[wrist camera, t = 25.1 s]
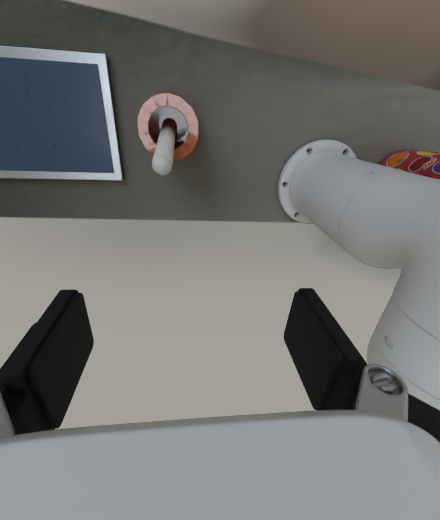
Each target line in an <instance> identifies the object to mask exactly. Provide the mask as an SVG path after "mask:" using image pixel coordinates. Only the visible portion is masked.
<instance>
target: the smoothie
mask: <svg viewBox="0 0 440 520" xmlns="http://www.w3.org/2000/svg"><path fill="white" fill-rule="evenodd" d="M379 165H383V166H387V167H391V168H394V169H398V170H402V171H406V172H410V173H414V174H418V175H422V176H426V177H430V178H434V179H439V180H440V152H427V151H413V150H402V151H398V152H396V153H393V154H391V155H389V156H387V157H386V158H385V159H383V160H382V161H381V162H380V164H379Z"/></svg>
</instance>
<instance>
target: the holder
mask: <svg viewBox="0 0 440 520" xmlns="http://www.w3.org/2000/svg"><path fill="white" fill-rule="evenodd" d="M166 118H171V119H173V120H174V121H175V123H176V136H175V145H174V154H173V161H177V160H181V159H184V158H185V157H186V156H187V155H189V154H190V153H191V152H192V151H193V150H194V148H195V146H196V144H197V141H198V139H199V121H198V119H197V116H196V114H195V112H194V109H193V108H192V106H191V105H189V104H188V103H187V102H186V101H185V100H184V99H183V98H182V97H181V96H178V95H175V94H171V93H168V92H165V93H160V94H155V95H152V96H151V97H150V98H149V99H148V100H147V101H146V102H145V103H143V104H142V106H141V109H140V112H139V114H138V117H137V127H138V135H139V138H140V139H141V141H142V143H143V145H144V147H145V148H146V150H147V151H149V152H150V153H151V154H152V155H154V153H155V149H156V145H157V141H158V138H159V134H160V130H161V126H162V123H163V121H164V120H165V119H166Z"/></svg>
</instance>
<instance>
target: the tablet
mask: <svg viewBox="0 0 440 520" xmlns="http://www.w3.org/2000/svg"><path fill="white" fill-rule="evenodd" d="M0 178H24V179H73V180H121V181H122V180H124V177H123V169H122V162H121V154H120V147H119V139H118V132H117V125H116V117H115V110H114V102H113V95H112V87H111V80H110V72H109V65H108V57H107V55H106V54H99V53H86V52H74V51H61V50H48V49H36V48H23V47H11V46H0Z"/></svg>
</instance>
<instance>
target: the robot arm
mask: <svg viewBox="0 0 440 520" xmlns="http://www.w3.org/2000/svg"><path fill="white" fill-rule="evenodd" d="M307 149H308V152H307ZM343 151H344V152H343ZM284 182H285V184H284V185H282V184H283V183H284ZM278 197H279V201H280V204H281V206H282V208H283V209H284V211H285V212H286V213H287V214H288V215H289V216H290V217H291V218H293V219H294V220H296V221H299V222H301V223H306V224H315V225H316V226H318V227H319V228H320V229H321V230H322V231H324V232H325V233H326V234H327V235H328V236H329V237H331V238H332V239H333V240H334V241H335V242H336V243H338V244H339V245H340V246H341V247H342V248H343V249H345V250H346V251H347V252H348V253H350V254H351V255H352V256H353V257H354V258H356V259H357V260H359V261H360V262H362V263H364V264H366V265H369V266H372V267H376V268H388V269H389V268H390V269H394V268H402V271H401V275H400V278H399V280H398V282H397V284H396V286H395V288H394V291H393V294H392V296H391V298H390V300H389V302H388V304H387V306H386V308H385V310H384V312H383V314H382V316H381V318H380V320H379V322H378V324H377V326H376V328H375V330H374V332H373V334H372V337H371V339H370V342H369V345H368V350H367V361H368V364H367V363H366V362H365V360H364V359H363V358H362V356H361V355H360V353H359V352H358V350H357V349H356V348H355V346H354V345H353V343H352V342H351V341H350V339H349V338H348V337H347V335H346V334H345V332H344V331H343V330H342V328H341V327H340V326H339V324H338V323H337V321H336V320H335V318H334V317H333V316H332V314H331V313H330V311H329V310H328V309H327V307H326V306H325V304H324V303H323V302H322V300H321V299H320V298H319V296H318V295H317V293H316V292H315V291H314V289H312V288H301V289H299V290H298V292H295V294H294V298H293V302H292V306H291V309H290V313H289V317H288V320H287V325H286V328H285V332H284V340H285V343H286V345H287V348H288V350H289V352H290V355H291V357H292V359H293V362H294V364H295V366H296V369H297V371H298V373H299V376H300V378H301V380H302V382H303V385H304V387H305V390H306V392H307V394H308V397H309V399H310V401H311V404H312V406H313V408H314V409H315V410H318V411H301V412H300V411H299V412H284V413H269V414H253V415H238V416H224V417H210V418H196V419H181V420H167V421H154V422H141V423H128V424H115V425H102V426H89V427H79V428H68V429H57V430H55V428H59V427H60V425H61V423H62V421H63V419H64V416H65V414H66V411H67V409H68V407H69V404H70V402H71V399H72V397H73V394H74V392H75V389H76V387H77V384H78V382H79V380H80V377H81V375H82V372H83V370H84V367H85V365H86V363H87V360H88V358H89V355H90V353H91V350H92V348H93V342H94V341H93V335H92V331H91V327H90V323H89V319H88V314H87V310H86V306H85V301H84V297H83V294H82V293H79V292H78V291H77V290H61V291H60V292H59V293H58V294H57V296H56V297H55V298H54V300H53V301H52V302H51V304H50V305H49V307H48V308H47V309H46V311H45V312H44V314H43V315H42V316H41V318H40V319H39V320H38V322H37V323H35V324H34V325H33V326H32V327H31V328H30V329H29V331H28V332H27V333H26V335H25V336H24V338H23V339H22V340H21V342H20V343H19V344H18V346H17V347H16V348H15V350H14V351H13V352H12V354H11V355H10V357H9V358H8V359H7V361H6V362H5V363H4V365H3V366H2V367H1V369H0V520H440V180H439V179H434V178H430V177H426V176H422V175H418V174H414V173H410V172H406V171H402V170H398V169H394V168H391V167H387V166H383V165H379V164H375V163H371V162H367V161H364V160H360V159H357V158H356V155H355V154H354V152H353V151H352V150H351V148H349V147H348V146H347V145H345V144H344V143H341V142H339V141H335V140H327V139H323V140H317V141H313V142H311V143H308V144H306V145H305V146H303V147H301V148H300V149H298V150H297V151H296V152H295V153H294V154H293V155H292V156H291V157H290V158H289V160H288V161H287V162H286V164H285V166H284V168H283V169H282V172H281V175H280V177H279V182H278ZM295 213H296V214H295Z"/></svg>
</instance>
